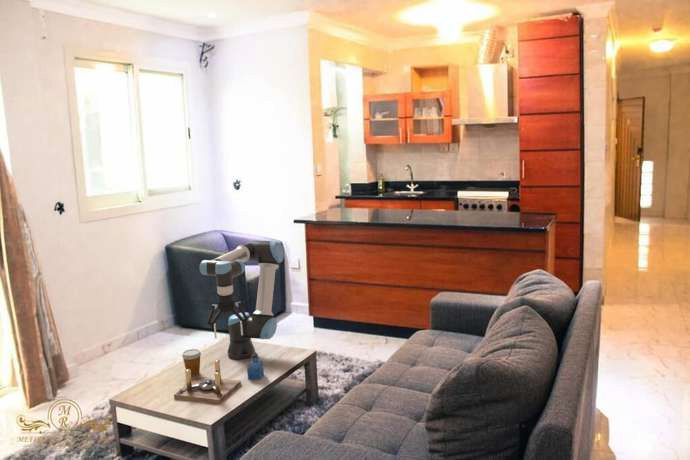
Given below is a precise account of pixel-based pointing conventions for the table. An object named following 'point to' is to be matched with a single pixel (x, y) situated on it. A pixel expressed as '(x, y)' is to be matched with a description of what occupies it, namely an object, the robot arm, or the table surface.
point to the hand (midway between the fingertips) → (228, 335)
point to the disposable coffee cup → (192, 361)
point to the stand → (208, 396)
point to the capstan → (206, 381)
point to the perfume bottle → (255, 368)
